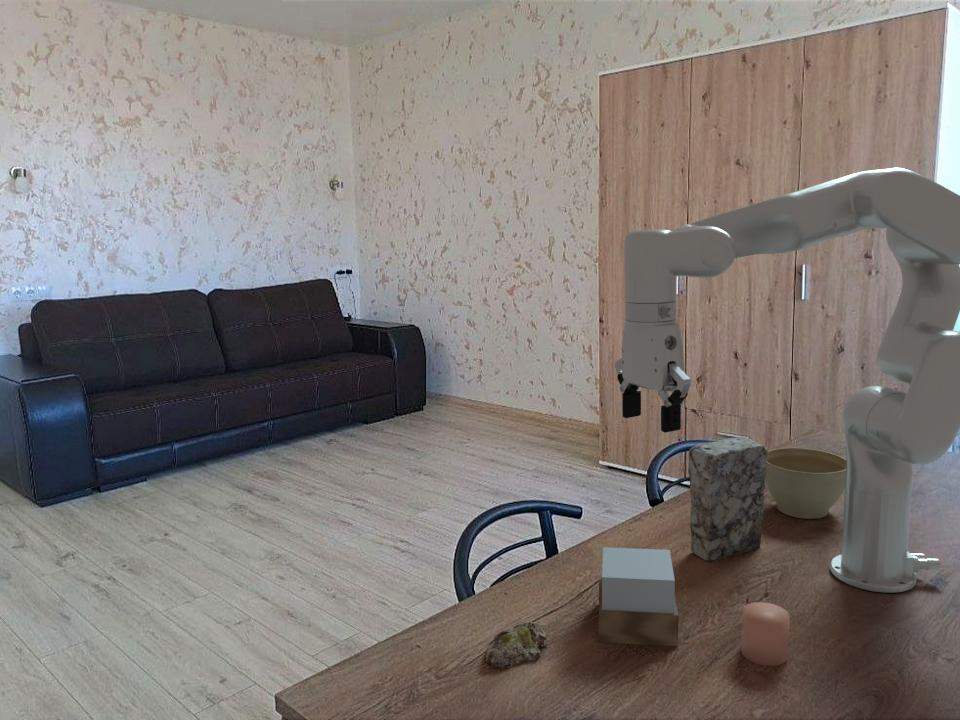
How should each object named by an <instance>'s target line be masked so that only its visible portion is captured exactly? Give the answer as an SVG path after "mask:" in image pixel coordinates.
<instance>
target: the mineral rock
mask: <svg viewBox="0 0 960 720" xmlns="http://www.w3.org/2000/svg"><path fill="white" fill-rule="evenodd" d="M547 648H548V642H547V632H546V627H545V626H544V625H543V624H542V623H540V622H536V623H535V622H534V621H529V622H525V621H523V622H522V623H518V624H516V625H514V626H513V629H511V630H510V629H509V628H507V629H505V630H502V631H501V632H497V634H496V635H494V636H493V639H492V640H491V641H490V642H489V643H488V648H487V649H486V650H485V657H486V659H485V660H486V661H485V662H487V664H490V668H492V669H497V668H501V669H509V668H512V667H514V666H518V665H519V664H520V663H523V662H527V661H532V662H535V661H536V660H538V659H540V658H541V657H542V655H543V653H545V652H546V650H547Z"/></svg>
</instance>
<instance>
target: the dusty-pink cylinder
mask: <svg viewBox="0 0 960 720" xmlns="http://www.w3.org/2000/svg"><path fill="white" fill-rule="evenodd" d="M741 616H742V621H741V645H740V646H741V649H740V650H741V654H742V655H743V657H745V658H746V659H747V660H749V661H750V662H752V663H754V664H758V665H760V666H761V665H762V666H768V667H776V666H781V665H783V664H786V662H787V661H788V658H789V642H790V641H789V640H790V639H789V638H790V619H791V618H790V613H789V612H788V611H787V610H786V609H784V608H783V607H781V606H779V605H777V604H774V603H770V602H763V601H762V602H761V601H755V602H751V603H748V604H747V603H746V605H744V606H743V607H742V614H741Z"/></svg>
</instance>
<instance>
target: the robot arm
mask: <svg viewBox="0 0 960 720" xmlns="http://www.w3.org/2000/svg"><path fill="white" fill-rule="evenodd" d="M870 229H886V231H885V232H886V233H885V238H886V242H887V246H888V247H889V250H890V251H891V253H892V254H893V256H894V257H895V260H896V262H897V263H898V266H899V268H900V272H901V277H902V278H901V279H902V282H901V283H902V286H901V290H900V293H899V297H898V300H897V302H896V306H895V308H894V310H893V312H892V315H891V318H890V320H889V322H888V325H887V327H886V330H885V332H884V334H883V337H882V340H881V341H880V344H879V347H878V350H877V354H876V364H877V367H878V369H879V370H880V371H881V373H882V374H884V375H885V376H886V377H888V378H890V379H891V380H895V381H897V382H898V383H899V382H900V383H902V384H905V385H908V389H907V391H906V392H903V391H900V390H898V389H894V388H891V387H886V386H882V385H869V386H865V387H862V388H860V389H858V390H856V391H855V392H854V393H853V394H852V395H851V396H850V397H849V398H848V400H847V401H846V403H845V405H844V408H843V412H842V427H843V434H844V440H845V441H844V442H845V452H846V458H845V459H846V460H847V463H846V483H845V489H844V501H843V502H844V505H843V518H842V519H843V521H842V522H843V523H842V538H841V539H842V540H841V554H839V555H838V554H837V555H836V556H835V557H833V558H832V559H831V562H830V571H831V573H832V575H834V576H835V578H837V579H838V580H840V581H841V582H843V583H845V584H847V585H849V586H852V587H855V588H858V589H861V590H865V591H869V592H870V591H871V592H876V593H886V594H888V593H890V594H891V593H893V594H894V593H901V592H902V593H903V592H907V591H909V590H911V589H913V588H914V587H916V585H917V580H918V579H917V578H918V575H917V573H918V572H919V571H921V570H922V571H930V572H931V571H933V572H938V571H940V570H941V563H940V560H939V558H927V557H926V556H925V554H924V553H923V552H921V553H919V552H918V553H917V552H913V553H912V552H911V553H910V551H908V548H909V535H910V521H911V510H912V509H911V507H912V495H913V493H912V491H913V483H914V482H913V481H914V472H913V471H914V470H913V465H916V466H917V465H918V466H919V465H920V466H923V465H929V464H932V463H934V462H937V461H938V460H940V459H941V458H942V457H943V456H944V455H945V454H947V452H948V451H949V449H950V448H951V447H952V445H953V444H954V442H955V439H956V437H957V435H958V433H959V431H960V331H958V330H954V329H955V326H956V323H957V320H958V317H959V315H960V195H959V194H958V193H956V192H954V191H952V190H950V189H949V188H947V187H945V186H943V185H941V184H940V183H938V182H936V181H934V180H932V179H930V178H928V177H926V176H925V175H922V174H919V173H918V172H915V171H913V170H910V169H906V168H903V167H891V168H890V167H888V168H881V169H872V170H871V169H870V170H864V171H859V172H855V173H851V174H847V175H844V176H842V177H838V178H836V179H832V180H828V181H825V182H822V183H819V184H816V185H813V186H810V187H807V188H802V189H800V190H797V191H794V192H790V193H787V194H784V195H781V196H776V197H772V198H770V199H765V200H762V201H759V202H757V203H754V204H750V205H748V206H743V207H740V208H736V209H733V210H730V211H726V212H723V213H720V214H715V215H712V216H709V217H706V218H703V219H699V220H697V221H693V222H690V223H687V224H686V223H685V224H684V225H681V226H678V227H676V228H675V229H673V230H670V229H660V228H659V229H637V230H632V231H630V232H628V233H627V234H626V235H625V237H624V244H623V248H624V249H623V250H624V252H623V253H624V325H623V333H622V335H623V336H622V345H621V358H620V359H618V360H616V361H615V362H614V368H615V371H616V374H617V381H618V383H619V384H620V385H619V386H620V387H619V391H620V393H621V396H622V397H621V398H622V399H621V401H622V402H621V403H622V404H621V405H622V407H621V409H622V412H621V413H622V414H621V415H622V417H623V418H624V419H630V418H635V417H639V416H641V415H642V391H640V390H639V388H643V389H645V390H646V389H647V390H649V391H654V392H658V394H659V397H660V399H661V401H662V403H663V404H664V405H660V431H661V432H662V433H664V434H665V433H670V432H675V431H679V430H680V429H681V427H682V426H681V425H682V420H681V419H682V418H681V415H682V405H684V404H685V403H684V402H685V399H686V398H687V396H688V395H689V393H688V392H689V389H690V387H691V385H692V380H691V378H690V377H689V376H688V375H687V374H686V373H685V361H684V360H685V359H684V347H683V346H684V345H683V337H682V333H681V328H680V324H679V323H677V277H687V278H688V277H689V278H699V279H708V278H709V279H710V278H716V277H718V276H720V275H722V274H723V273H724V274H725V273H726V271H728V270H729V269H730V268H731V267H732V265H733V264H734V262H735V259H738V258H742V257H748V256H756V255H757V256H758V255H769V254H770V255H771V254H773V255H774V254H785V253H790V252H791V253H792V252H797V251H801V250H804V249H807V248H809V247H812V246H813V247H814V246H816V245H819V244H821V243H824V242H828V241H831V240H834V239H838V238H841V237H845V236H848V235H851V234H854V233H857V232H861V231H865V230H870ZM668 392H671V394H670V395H669V393H668Z"/></svg>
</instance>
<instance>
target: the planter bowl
mask: <svg viewBox="0 0 960 720" xmlns="http://www.w3.org/2000/svg"><path fill="white" fill-rule="evenodd" d="M846 463H847V459H846V458H844V457H842V456H840V455H837V454H836V453H832V452H827V451H824V450H823V451H822V450H818V449H812V448H804V447H781V448H775V449H770V450H768V454H767V459H766V465H765V466H766V476H765V486H766V487H767V490H768V492H769V494H770V496H771V497H772V499H774V501H775V503H776V508H777V509H778V511H779V512H780V513H782V514H785V515H786V516H787V515H788V516H789V517H793V518H797V519H806V520H813V519H814V520H815V519H821V518H825V517H827V516H828V514H829V511H830V509H831V508H832V507H833V506H834V505H835V504H836V503H837V502H838V500H839V499H840V497H842V495H843V493H844V492H845V483H846Z"/></svg>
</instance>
